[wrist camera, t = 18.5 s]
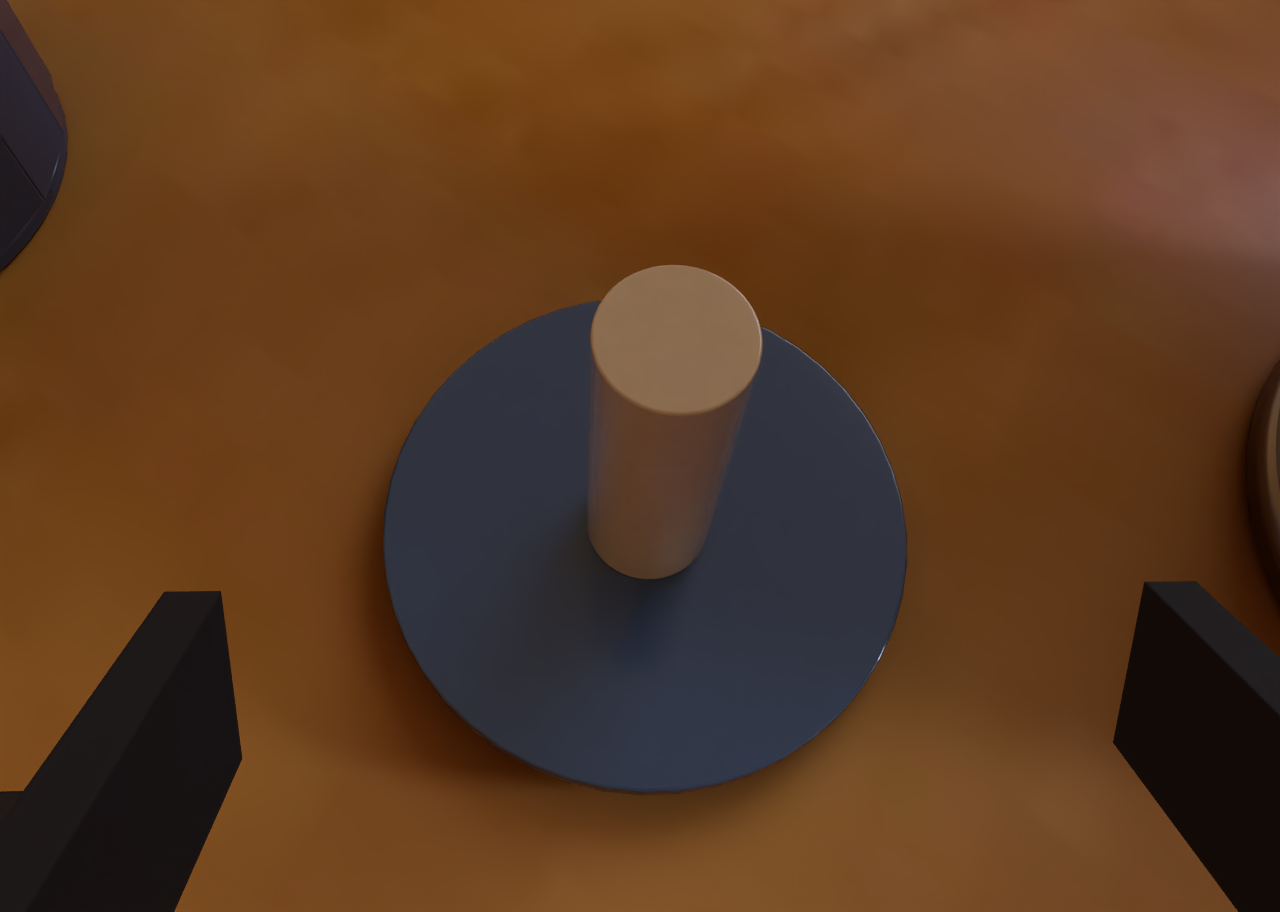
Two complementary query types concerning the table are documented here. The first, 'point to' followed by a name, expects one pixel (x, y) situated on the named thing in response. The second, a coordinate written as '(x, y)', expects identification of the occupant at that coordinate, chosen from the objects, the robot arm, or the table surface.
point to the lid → (645, 540)
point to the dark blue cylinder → (26, 138)
